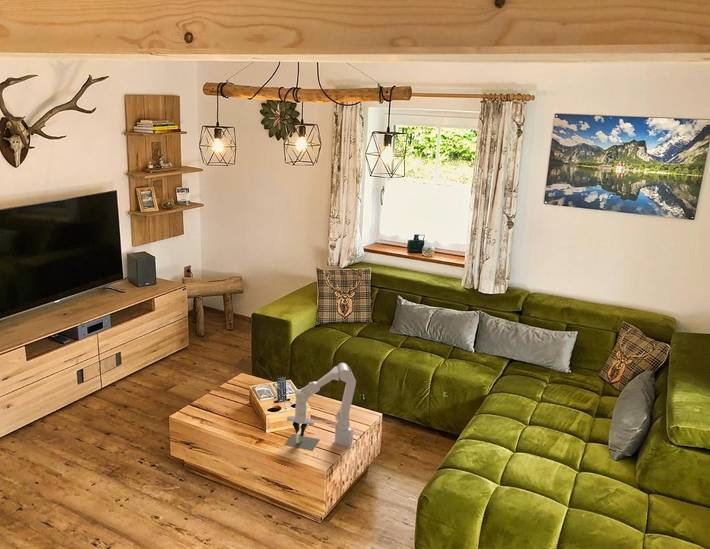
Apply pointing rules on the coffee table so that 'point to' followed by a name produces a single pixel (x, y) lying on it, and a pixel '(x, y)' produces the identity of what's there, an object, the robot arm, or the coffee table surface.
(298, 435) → the tile
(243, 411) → the coffee table surface
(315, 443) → the mat
